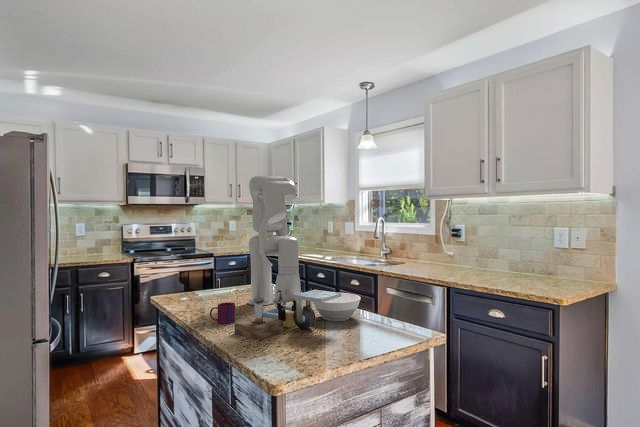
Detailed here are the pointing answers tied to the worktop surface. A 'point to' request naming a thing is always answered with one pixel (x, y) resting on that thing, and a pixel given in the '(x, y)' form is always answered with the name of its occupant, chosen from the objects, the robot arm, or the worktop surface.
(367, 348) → the worktop surface
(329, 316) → the bowl
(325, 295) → the caster wheel
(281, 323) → the socket block
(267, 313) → the tray
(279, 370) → the worktop surface
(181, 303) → the worktop surface
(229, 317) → the mug
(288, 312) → the block
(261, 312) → the pin
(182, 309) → the worktop surface
